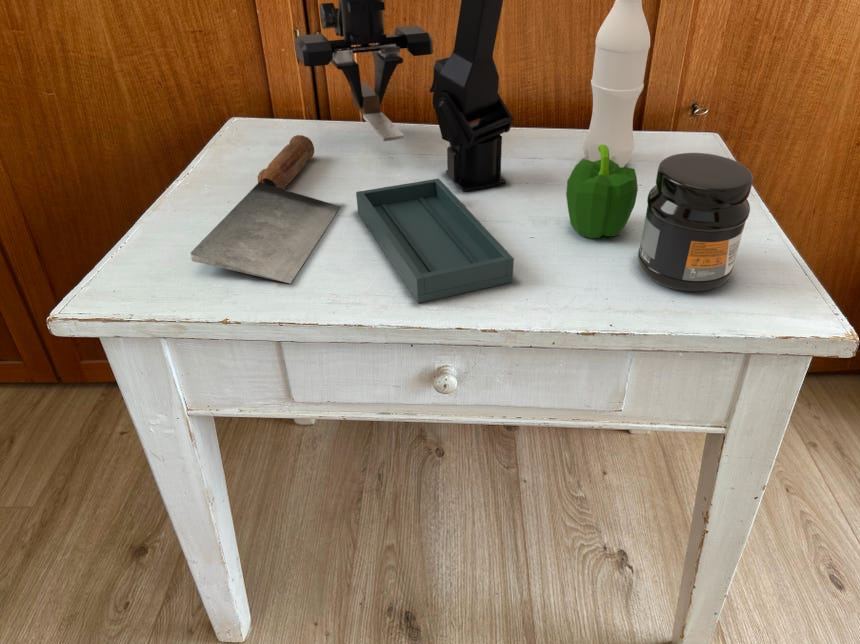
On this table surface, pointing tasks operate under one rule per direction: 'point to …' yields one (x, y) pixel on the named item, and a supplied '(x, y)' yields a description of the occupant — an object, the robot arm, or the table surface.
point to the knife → (376, 115)
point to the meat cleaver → (270, 223)
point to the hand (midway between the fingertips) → (369, 106)
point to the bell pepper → (600, 196)
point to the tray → (433, 240)
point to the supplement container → (694, 221)
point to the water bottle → (617, 81)
